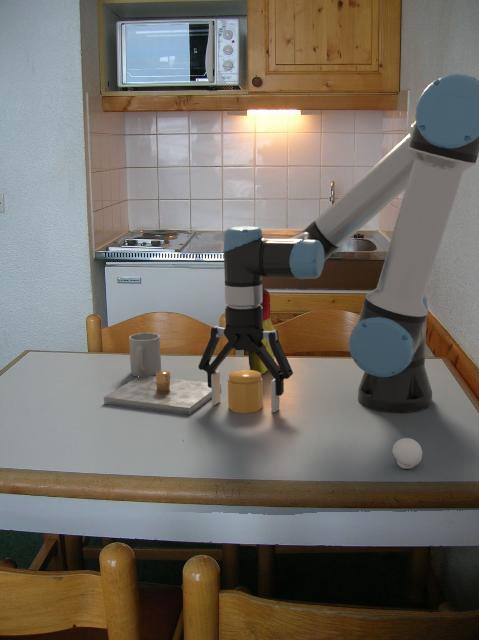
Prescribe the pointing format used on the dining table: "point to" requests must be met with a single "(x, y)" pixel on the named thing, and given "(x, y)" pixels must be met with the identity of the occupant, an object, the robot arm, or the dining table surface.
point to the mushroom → (407, 453)
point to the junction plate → (161, 394)
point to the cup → (145, 354)
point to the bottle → (254, 360)
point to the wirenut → (245, 391)
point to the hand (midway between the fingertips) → (245, 406)
